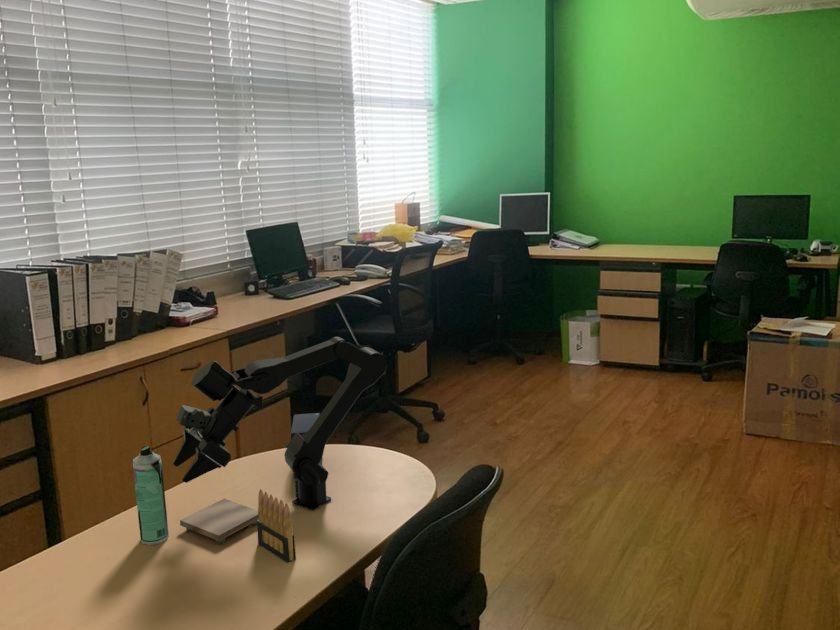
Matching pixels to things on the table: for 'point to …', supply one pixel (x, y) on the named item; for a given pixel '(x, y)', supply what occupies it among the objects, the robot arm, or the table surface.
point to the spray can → (150, 497)
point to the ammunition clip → (275, 527)
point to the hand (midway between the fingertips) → (179, 473)
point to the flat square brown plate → (220, 520)
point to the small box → (303, 425)
